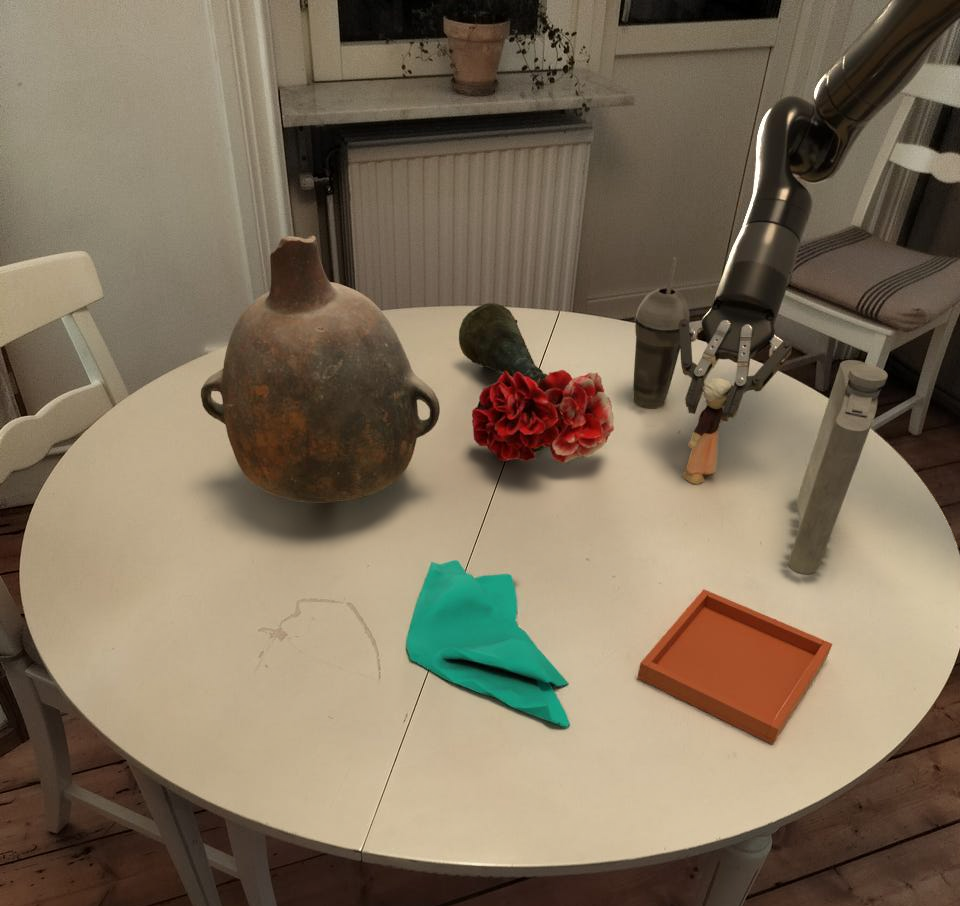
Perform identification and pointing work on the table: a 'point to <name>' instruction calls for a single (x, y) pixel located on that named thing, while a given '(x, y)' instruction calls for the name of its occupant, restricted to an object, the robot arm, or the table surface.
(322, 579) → the table surface
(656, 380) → the beverage cup
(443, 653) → the cloth
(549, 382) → the carnation
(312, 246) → the jug
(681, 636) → the figure tray
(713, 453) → the grandmother figurine
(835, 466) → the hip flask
